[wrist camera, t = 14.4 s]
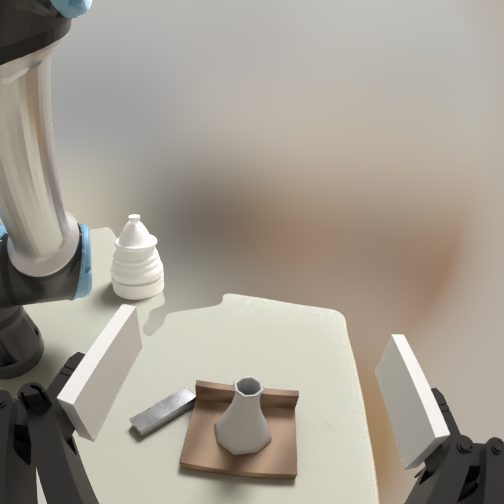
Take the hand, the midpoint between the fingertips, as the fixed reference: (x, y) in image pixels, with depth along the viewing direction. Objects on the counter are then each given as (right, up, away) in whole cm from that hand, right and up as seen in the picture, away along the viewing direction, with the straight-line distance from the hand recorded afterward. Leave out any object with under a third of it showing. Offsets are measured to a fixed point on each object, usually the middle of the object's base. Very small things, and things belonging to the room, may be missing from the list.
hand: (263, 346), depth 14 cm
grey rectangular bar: (-13, -18, +21) cm, 31 cm away
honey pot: (-28, -4, +54) cm, 61 cm away
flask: (-2, -19, +19) cm, 27 cm away
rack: (-2, -20, +19) cm, 28 cm away
